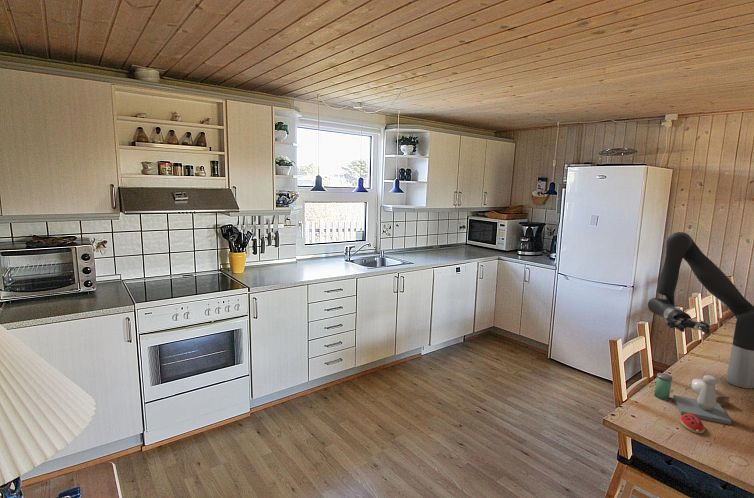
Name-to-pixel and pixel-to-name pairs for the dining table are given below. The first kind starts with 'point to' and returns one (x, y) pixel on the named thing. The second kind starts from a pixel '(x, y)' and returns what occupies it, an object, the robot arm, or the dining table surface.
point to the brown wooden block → (721, 398)
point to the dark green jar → (663, 386)
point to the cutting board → (701, 410)
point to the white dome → (697, 385)
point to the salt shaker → (707, 393)
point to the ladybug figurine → (692, 423)
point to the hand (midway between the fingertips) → (695, 330)
